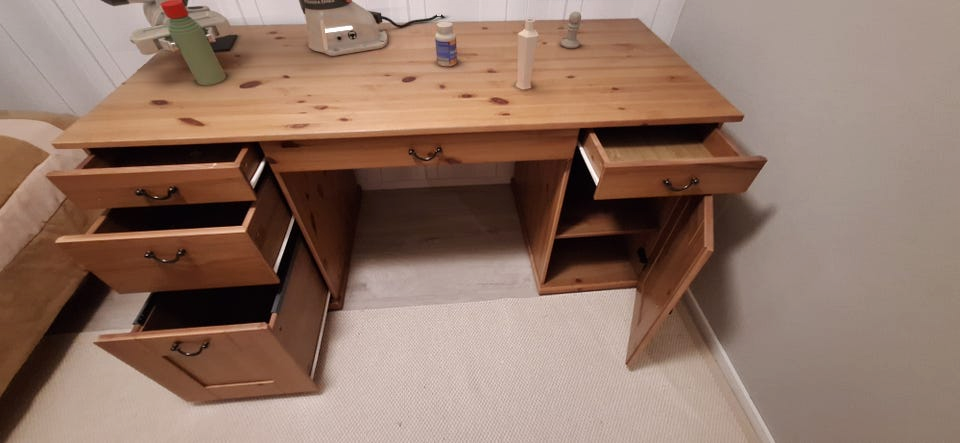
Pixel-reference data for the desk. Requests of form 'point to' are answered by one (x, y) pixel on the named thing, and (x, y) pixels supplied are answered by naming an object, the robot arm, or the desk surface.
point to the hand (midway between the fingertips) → (193, 43)
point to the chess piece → (572, 31)
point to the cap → (174, 9)
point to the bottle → (196, 50)
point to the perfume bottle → (526, 54)
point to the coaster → (223, 43)
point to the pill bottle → (446, 44)
